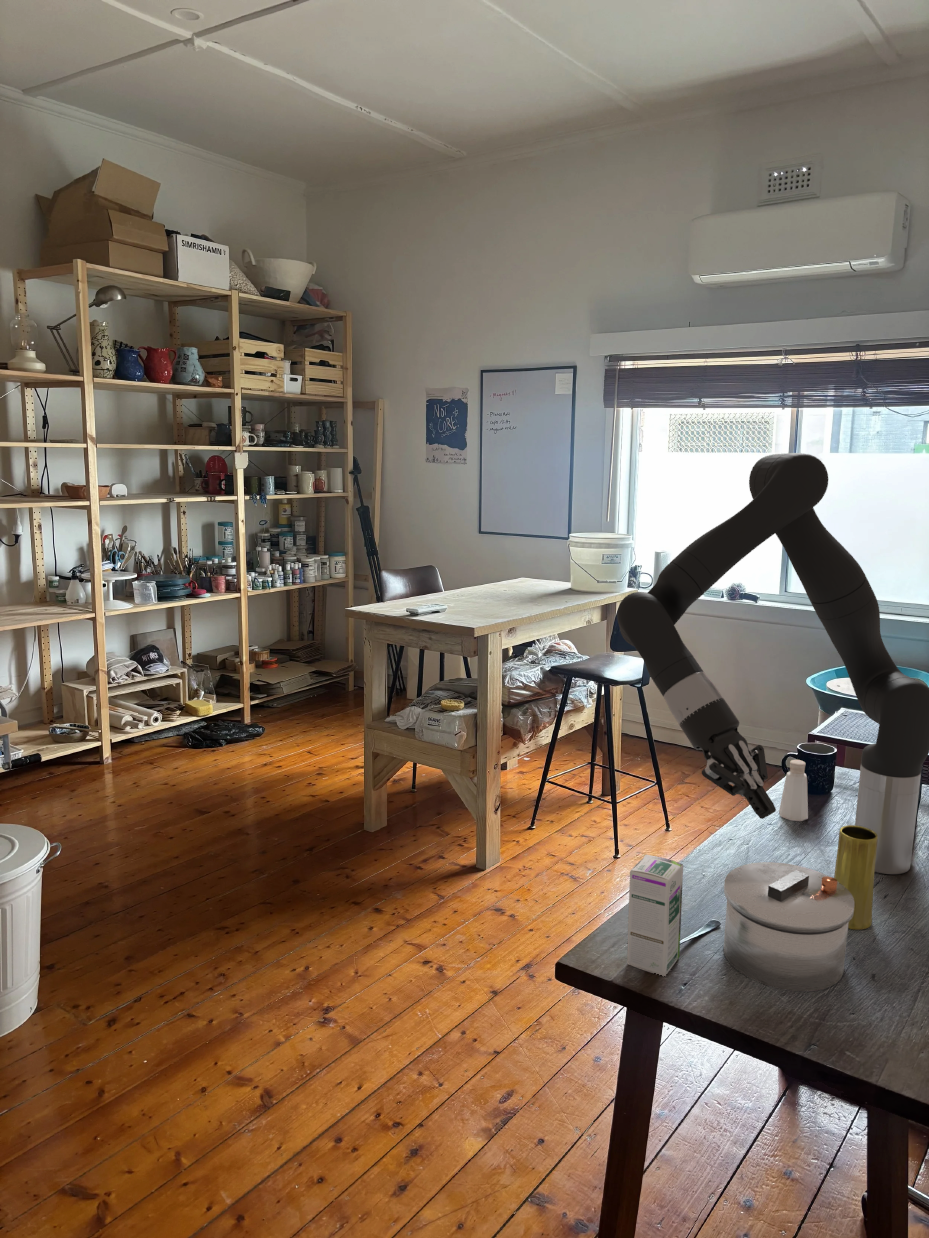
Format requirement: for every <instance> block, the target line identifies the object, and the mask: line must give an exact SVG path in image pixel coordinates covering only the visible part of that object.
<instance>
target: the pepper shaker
mask: <svg viewBox="0 0 929 1238" xmlns="http://www.w3.org/2000/svg"><path fill="white" fill-rule="evenodd" d="M789 769H790V770H789V771H788V772H786V775H785V779H784V785H783V790H782V796H781V800H780V805H779V810H778V812H779V815H780V816H779V817H781V818H783V819H786V820H788V821H791V822H792V821H794V822H795V821H796V822H803V821H806V820H808V818H809V811H808V810H809V809H808V808H809V806H808V805H809V804H808V802H809V799H808V776H807V773H805V770H806V762H805V761H803V760H800V759H791V760H790V761H789Z"/></svg>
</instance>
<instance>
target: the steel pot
mask: <svg viewBox="0 0 929 1238" xmlns="http://www.w3.org/2000/svg"><path fill="white" fill-rule="evenodd" d="M725 909H726V911H725V924H724V939H723V940H724V941H723V954H724V956H725V959H726V960H727V961H728V963H729V964H730V965H731V966H732V967H733V968H734V969H736V970H737V972H739V973H741V974H742V975H743V976H745V977H747V978H748V979H750V980H753V981H755V982H757V983H759V984H761V985H764V986H768V987H771V988H775V989H778V990H784V991H787V992H788V991H791V992H803V993H804V992H816V991H817V992H818V991H821V990H825V989H829V988H830V987H833V986H834V985H836V984H837V983H838V982H840V980H841V979H842V977H843V974H844V971H845V970H844V969H845V962H846V961H845V959H846V953H847V952H846V950H847V941H848V931H849V929H848V923H847V924H846V925H844V926H842V927H840V928H837V929H834V930H830V931H823V932H798V931H790V930H784V929H780V928H775V927H772V926H768V925H766V924H763V923H760V922H758V921H755V920H753V919H751V918H749V917H747V916H745V915H744V914H742V913H740V912H739V911H738V910H736V909H735V908H734V907H733V906H732V905H731V904H730V903H729V902H728V900H727V899H726V908H725Z"/></svg>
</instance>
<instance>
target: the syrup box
mask: <svg viewBox="0 0 929 1238" xmlns="http://www.w3.org/2000/svg"><path fill="white" fill-rule="evenodd" d="M683 878H684V864H683V863H680V862H678V861H675V860H673V859H669V858H665V857H662V856H661V857H660V856H656V855H651V854H645V855H644V856H643V858H641V859H640V860H639V861H638V862H637V863H636V864H635V865H634V866H633V867H632V868H631V869H630V870H629V887H628V888H629V889H628V890H629V891H628V918H627V919H628V920H627V921H628V923H627V948H626V949H627V952H626V953H627V954H626V955H627V956H626V957H627V958H626V962H627V964H626V965H629V966H631V967H634V968H637V969H640V970H642V971H645V972H648V973H651V974H654V973H656V974H655V975H657V974H659V975H658V976H660V975H662V977H664V976H665V977H666V976H667V975H666V974H668V973H669V972H670V970H671V969H672V968H673V966H675V964H676V962H677V961H678V960H679V958H680V956H681V955H680V953H681V952H680V949H681V927H682V909H683V908H682V904H683V901H682V900H683V880H684V879H683Z"/></svg>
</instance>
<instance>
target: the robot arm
mask: <svg viewBox="0 0 929 1238" xmlns="http://www.w3.org/2000/svg"><path fill="white" fill-rule="evenodd" d="M828 486H829V473H828V470H827V468H826V465H825V464H824V463H823V462H822V460H821V459H819V458H818V457H817V456H815V455H812V454H809V453H802V452H788V453H782V452H781V453H775V454H769V455H765V456H764V457H761V458H759V460H757V461H756V462H755V463H754V465H753V466H752V468H751V471H750V474H749V478H748V487H749V492H750V495H751V498H752V500H751V501H750V502H749V503H748V504H746V505H745V506H744V507H743V508H741V510H739V511H738V512H737V513H735V514H734V515H732V516H731V517H729V518H727V519H726V520H725V521H723V522H721V523H720V524H718V525H716V526H715V527H713V528H712V529H709V530H708V531H706V532H705V533H704V534H702V535H700V537H697V538H696V539H695V540H693V542H691V543H689V545H687V546H686V547H685V548H683V550H682V551H681V552H680V553H679V554H678V555H677V556H675V557H674V558H673V559H672V560H671V561H670V562H669V563H668V564H667V565H666V566H665V567H664V568H662V570H661V572H660V573H659V575H658V577H657V580H656V583H655V584H654V585H653V586H652V587H651V588H650V589H649V590H648V592H645V591H635V592H631V593H629V594H627V595H626V596H625V597H624V598H622V600H621V601H620V603H619V605H618V608H617V611H616V613H617V614H616V618H617V622H618V623H617V624H618V626H619V631H620V635H621V636H622V638H623V640H625V642H626V643H628V644H629V645H631V646H632V647H634V648H635V649H636V651H637V652H638V654H639V656H640V657H641V658H642V660H643V661H644V664H645V668H646V669H647V673H648V674H649V676H650V678H651V680H652V681H653V683H654V685H655V686H656V688H657V689H658V690H659V691H658V692H660V694H661V696H662V697H663V699H664V701H665V702H666V705H667V706H668V709H669V712H670V713H671V715H672V716H673V717H674V719H675V721H676V722H677V724H678V725H679V727H680V729H681V730H682V731H683V733H684V735H685V736H686V738H687V739H688V741H689V742H690V744H691V746H692V747H693V749H694V750H696V751H702V755H703V757H704V760H706V767H705V768H704V769H702V770H701V776H703V778H705V779H707V780H709V781H710V782H711V783H713V784H714V785H715V786H717V787H719V788H721V789H722V790H723V791H724V792H726V793H728V794H729V795H730V796H732V797H735V796H736V795H739V796H741V797H743V798H745V799H746V801H747V803H748V804H749V805H750V807H751V809H752V810H753V811H754V813H755V814H756V815H757V816H758V818H759V819H761V820H763V819H765V818H767V817H769V816H771V815H773V814H774V813H775V812H777V808H776V806H775V804H774V802H773V800H772V799H771V798H770V796H769V794H768V793H767V791H766V790H765V788H764V787H763V786H764V784H765V783H764V782H765V781H767V779H769V775H768V768H767V761H766V755H765V748H764V747H763V746H762V745H761V744H757V745H756V746H753V745H752V744H749V743H748V740H747V739H746V738H745V737H744V736H743V735H742V734H741V733H740V732H739V731H738V728H739V726H740V720H739V719H738V717H737V716H736V715H735V713H734V711H733V710H732V709H731V707H730V706H729V703H727V701H726V700H725V698H724V696H723V695H722V694H721V693H720V691H719V689H718V688H717V686H716V684H715V683H714V682H713V681H712V680H711V679H710V677H708V676H707V674H706V673H705V672H704V669H702V667H701V666H700V664H699V663H698V660H697V659H696V658H695V656H694V655H693V654H692V653H691V651H690V650H689V649H688V648H687V646H686V644H685V643H684V641H683V640H682V638H681V636H680V633H679V632H678V630H677V628H676V624H677V623H678V622H679V620H680V619H681V618H682V616H684V614H685V613H686V611H687V610H688V609H689V608H690V606H692V604H694V603H695V602H696V601H697V600H698V599H699V598H700V597H702V596H703V595H704V594H705V593H706V592H708V591H709V589H711V588H712V587H713V585H715V584H716V583H718V581H719V580H720V579H721V578H722V577H724V576H725V574H727V572H728V571H730V570H731V569H732V568H733V567H735V565H737V564H738V563H739V562H740V561H742V559H743V560H744V558H745V557H746V556H748V554H750V553H751V552H752V551H754V550H755V549H757V548H758V547H759V546H760V545H761V544H762V543H764V542H766V541H767V540H768V539H770V537H772V536H773V535H776V537H777V539H778V540H779V542H780V544H781V545H782V547H783V549H784V551H785V554H787V557H788V559H789V560H790V563H791V565H792V567H793V569H794V571H795V573H796V575H797V577H798V578H799V581H800V583H801V585H802V586H803V589H804V591H805V593H806V595H807V598H808V600H809V602H810V603H811V606H812V607H813V610H814V611H815V614H816V615H817V617H818V619H819V621H820V623H821V624H822V626H823V627H824V630H825V631H826V633H827V635H828V637H829V639H830V642H832V645H833V646H834V648H835V650H836V651H837V653H838V655H839V657H840V659H841V660H842V663H843V666H844V667H845V670H846V671H847V674H848V678H849V681H850V683H851V685H852V689H853V691H854V693H855V697H856V699H857V702H858V704H859V706H860V708H861V709H862V711H863V712H864V714H865V716H867V717H868V719H870V720H871V721H873V722H875V723H876V724H878V732H877V737H876V742H875V743H872V744H868V745H866V746H865V747H864V748H862V749H863V750H862V753H861V759H860V760H861V761H860V769H859V771H860V772H859V781H858V790H857V791H858V792H857V799H856V810H855V811H856V812H855V820H854V825H855V826H862V827H865V828H868V829H870V830H872V831H874V832H875V833H876V834H877V835H878V841H877V851H876V861H875V872H874V873H877V874H879V873H880V874H883V875H884V874H886V875H901V874H904V873H907V872H908V871H909V870H910V869H911V865H912V864H911V863H912V854H913V846H914V838H915V828H916V820H917V812H918V803H919V796H920V795H919V794H920V787H921V785H920V784H921V777H922V776H921V775H922V769H923V764H924V763H925V761H926V760H927V757H928V755H929V687H928V686H927V685H926V684H925V683H922V682H920V681H918V680H917V679H914V678H912V677H910V676H908V675H905V673H903V672H902V671H901V670H900V669H899V667H898V666H897V664H895V661H894V660H893V659H892V656H891V655H890V654H889V652H888V649H887V648H886V646H885V644H884V642H883V639H882V634H881V614H880V606H879V602H878V599H877V596H876V594H875V591H874V589H873V588H872V586H871V583H870V582H869V580H868V578H867V575H866V574H865V572H864V570H863V569H862V567H861V565H860V564H859V562H858V561H857V560H856V559H855V558H854V556H853V555H852V553H850V552H849V551H848V550H847V549H846V548H845V547H844V546H843V545H842V543H841V542H839V541H838V540H837V538H835V537H834V536H833V535H832V533H831V532H830V531H829V530H828V529H827V528H826V527H825V526H824V525H823V522H822V521H821V520H820V518H819V517H818V514H817V512H816V511H815V509H814V507H815V506H817V505H818V504H819V503H820V501H822V499H823V497H824V496H825V495H826V493H827V490H828Z"/></svg>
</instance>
